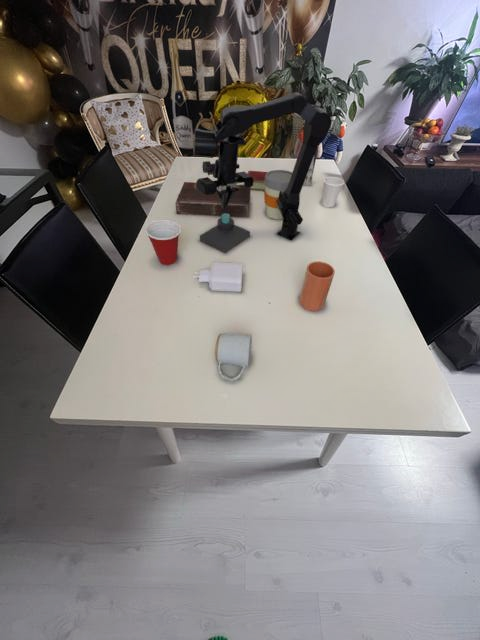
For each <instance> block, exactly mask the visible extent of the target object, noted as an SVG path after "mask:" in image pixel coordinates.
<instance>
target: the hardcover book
mask: <svg viewBox="0 0 480 640" xmlns="http://www.w3.org/2000/svg"><path fill="white" fill-rule="evenodd" d="M267 172H268V171H261V170H259V171H258V170H247V172H246V173H247V174H249V175H250V176H252V177H253V180H254V182H253V186H251V191H262V192H264V189H265V184H264V181H265V175H266V173H267Z"/></svg>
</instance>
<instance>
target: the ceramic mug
mask: <svg viewBox="0 0 480 640" xmlns="http://www.w3.org/2000/svg"><path fill="white" fill-rule="evenodd" d="M252 344H253V336H252V334H247V333H233V332H232V333H230V332H228V333H227V332H222V333H219V334H218V335H217V337H216V340H215V345H214V347H215V348H214V358H215V361H216V363H218V372H219V375H220V376H221V377H222V378H223V379H224V380H226V381H230V382H233V381H237V380H238V379H240V378H241V377H242V376H243V373H244V371H245V369H246V368H249V367H250V363H251V355H252V347H253V346H252ZM222 365H231V366H235V367H240V368H242V369H241V370H240V372H239V374H238V375H236V376H235V377H231V376H228V375H227V374H224V373H223V372H222Z"/></svg>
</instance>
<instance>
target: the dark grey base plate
mask: <svg viewBox="0 0 480 640" xmlns="http://www.w3.org/2000/svg"><path fill="white" fill-rule="evenodd" d="M250 237H251V231H249V230H248V229H246V228H243V227H240V226H239V225H237V224H235V220H234V219H233V217H230V223H222V216H220V218H218V219H217V225H215V226H214V227H212V228H209V230H206V231H205V232H204V233H202V234H200V235H199V241H200V242H201V243H204V244H205V245H207V246H210V247H211V248H214V249H216V250H217V251H219V252H221V253H223V254H227V253H228V252H229V251H232V250H233V249H234V248H236V247H237V246H239V245H240V244H242V243H243V242H245V241H246V240H247V239H249V238H250Z"/></svg>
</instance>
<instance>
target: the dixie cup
mask: <svg viewBox="0 0 480 640" xmlns="http://www.w3.org/2000/svg"><path fill="white" fill-rule="evenodd" d="M322 180H323V181H322V182H323V183H322V185H323V186H322V193H321V206H323V207H326V208H333V207H335V204H336V203H337V200H338V197H339V195H340V192H341V190H342V187H343V185H344V184H345V181H344V180H343V179H342V178H340V177H337V176H326V177H324V178H323V179H322Z"/></svg>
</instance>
